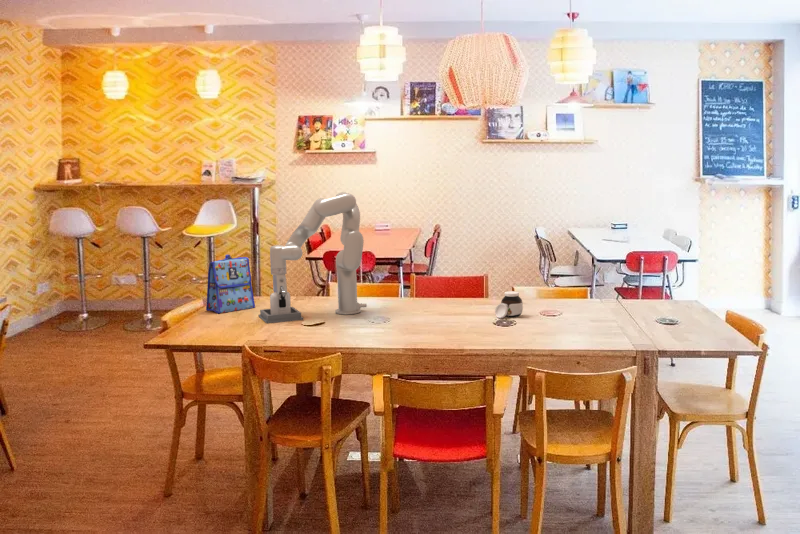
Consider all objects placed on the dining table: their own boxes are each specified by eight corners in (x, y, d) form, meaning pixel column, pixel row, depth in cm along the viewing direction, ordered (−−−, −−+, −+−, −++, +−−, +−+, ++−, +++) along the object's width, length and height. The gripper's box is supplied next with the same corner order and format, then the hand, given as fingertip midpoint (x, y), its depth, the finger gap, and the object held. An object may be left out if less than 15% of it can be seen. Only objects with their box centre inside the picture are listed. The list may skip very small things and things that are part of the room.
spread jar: (524, 315, 415) (524, 291, 413) (517, 320, 404) (517, 295, 403) (500, 313, 420) (500, 290, 418) (493, 318, 409) (492, 294, 408)
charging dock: (293, 313, 432) (293, 306, 431) (303, 319, 415) (303, 312, 414) (258, 316, 425) (258, 309, 424) (266, 323, 408) (266, 316, 408)
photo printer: (288, 314, 424) (287, 289, 422) (292, 315, 420) (291, 290, 419) (269, 316, 419) (268, 291, 417) (272, 318, 415) (271, 293, 413)
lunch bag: (218, 314, 433) (215, 257, 428) (205, 310, 443) (202, 255, 438) (255, 308, 447) (253, 253, 442) (242, 304, 457) (239, 250, 452)
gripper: (290, 272, 410) (292, 308, 412) (281, 267, 426) (283, 301, 428) (275, 274, 407) (276, 309, 410) (267, 269, 423) (268, 303, 426)
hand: (280, 305), depth 419 cm, fingers open, 9 cm apart
